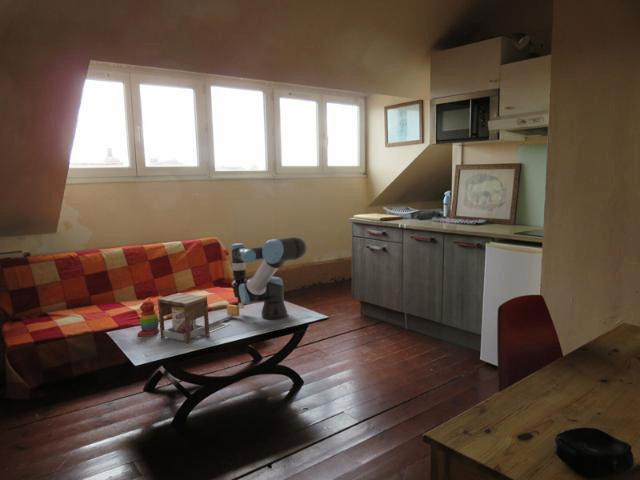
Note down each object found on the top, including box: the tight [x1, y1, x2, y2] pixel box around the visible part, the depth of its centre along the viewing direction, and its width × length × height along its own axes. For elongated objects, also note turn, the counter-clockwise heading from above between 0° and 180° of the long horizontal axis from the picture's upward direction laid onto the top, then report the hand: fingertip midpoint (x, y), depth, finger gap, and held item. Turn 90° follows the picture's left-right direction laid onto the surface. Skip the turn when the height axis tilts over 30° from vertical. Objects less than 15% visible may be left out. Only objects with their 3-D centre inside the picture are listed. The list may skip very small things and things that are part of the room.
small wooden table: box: [157, 292, 211, 345], centre depth 234 cm, size 21×14×20 cm, turn 58°
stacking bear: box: [137, 299, 160, 337], centre depth 242 cm, size 11×10×18 cm
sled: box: [163, 303, 241, 341], centre depth 247 cm, size 15×45×6 cm, turn 148°
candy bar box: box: [171, 305, 197, 338], centre depth 234 cm, size 11×5×16 cm, turn 84°
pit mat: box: [197, 319, 231, 334], centre depth 249 cm, size 16×17×1 cm
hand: (241, 307), depth 272 cm, fingers closed
